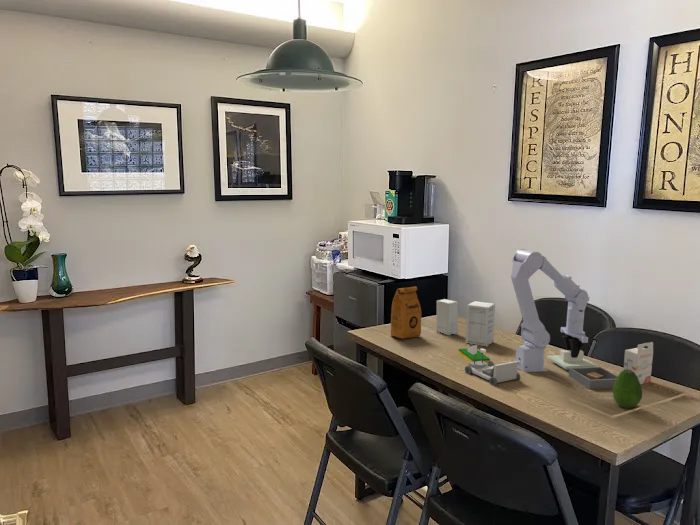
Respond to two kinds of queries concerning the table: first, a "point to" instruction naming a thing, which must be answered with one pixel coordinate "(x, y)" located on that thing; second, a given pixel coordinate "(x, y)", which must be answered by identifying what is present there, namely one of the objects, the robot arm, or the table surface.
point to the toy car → (492, 369)
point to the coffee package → (406, 314)
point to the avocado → (627, 389)
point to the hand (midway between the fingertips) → (572, 356)
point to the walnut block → (594, 376)
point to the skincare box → (447, 317)
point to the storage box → (580, 377)
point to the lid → (570, 360)
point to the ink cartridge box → (640, 361)
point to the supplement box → (480, 323)
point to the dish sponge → (470, 357)
